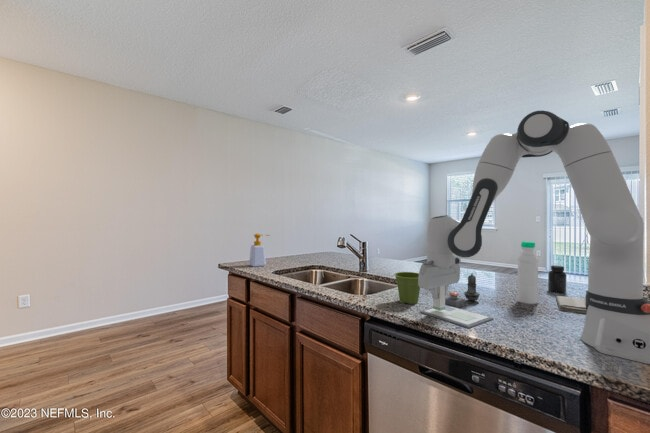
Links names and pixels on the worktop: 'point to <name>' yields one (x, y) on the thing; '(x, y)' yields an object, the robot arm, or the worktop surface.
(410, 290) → the plant pot
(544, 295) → the worktop surface
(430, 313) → the white rectangular board
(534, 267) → the water bottle
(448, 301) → the button housing
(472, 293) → the dark tiered figurine
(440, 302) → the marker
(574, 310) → the washcloth
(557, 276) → the supplement bottle
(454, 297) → the button
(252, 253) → the soap bottle
